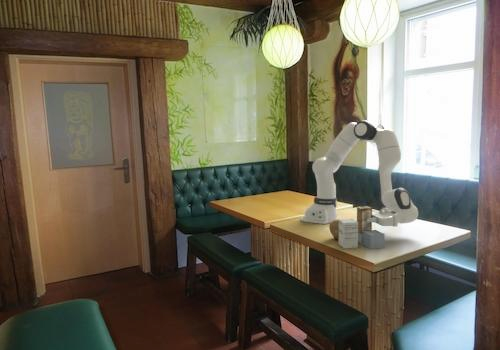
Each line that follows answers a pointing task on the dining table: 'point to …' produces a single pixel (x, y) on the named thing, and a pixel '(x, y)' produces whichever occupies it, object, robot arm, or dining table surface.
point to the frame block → (364, 219)
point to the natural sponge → (334, 228)
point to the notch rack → (372, 239)
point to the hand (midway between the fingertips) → (362, 218)
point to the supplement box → (348, 233)
